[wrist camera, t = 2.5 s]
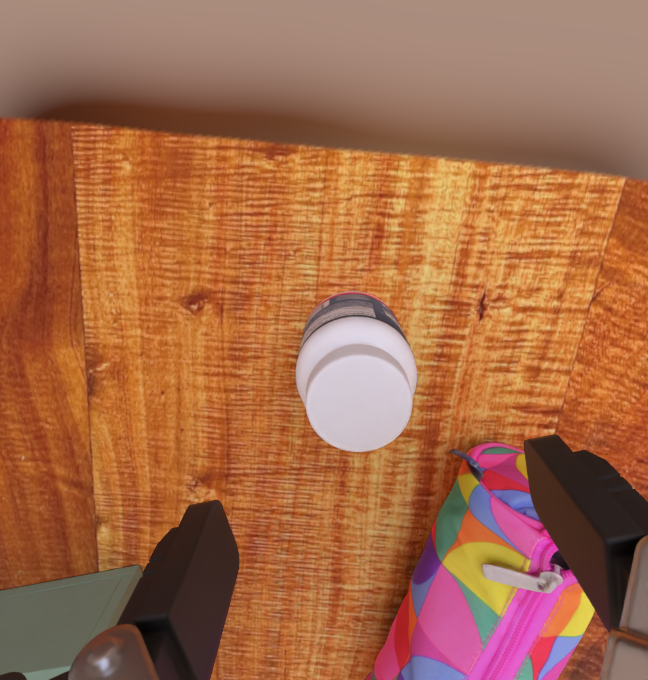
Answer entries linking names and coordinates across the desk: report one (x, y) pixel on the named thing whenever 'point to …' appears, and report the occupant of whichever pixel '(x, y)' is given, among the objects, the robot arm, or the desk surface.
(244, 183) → the desk surface
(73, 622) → the bin
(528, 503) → the pencil case
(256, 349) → the desk surface
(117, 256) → the desk surface
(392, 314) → the pill bottle
